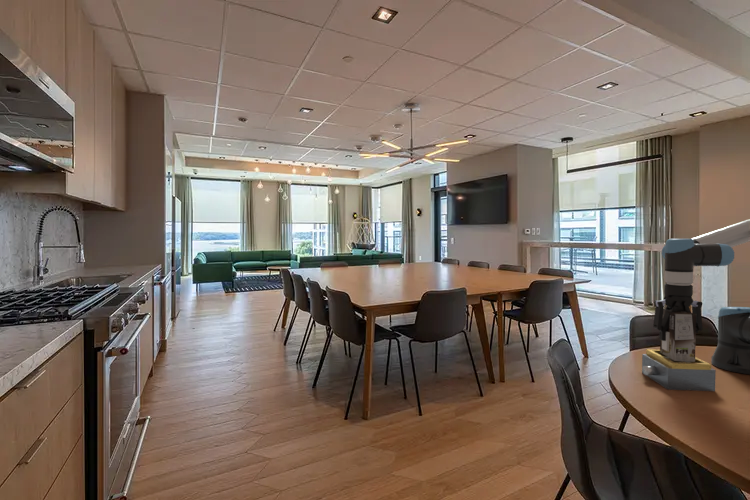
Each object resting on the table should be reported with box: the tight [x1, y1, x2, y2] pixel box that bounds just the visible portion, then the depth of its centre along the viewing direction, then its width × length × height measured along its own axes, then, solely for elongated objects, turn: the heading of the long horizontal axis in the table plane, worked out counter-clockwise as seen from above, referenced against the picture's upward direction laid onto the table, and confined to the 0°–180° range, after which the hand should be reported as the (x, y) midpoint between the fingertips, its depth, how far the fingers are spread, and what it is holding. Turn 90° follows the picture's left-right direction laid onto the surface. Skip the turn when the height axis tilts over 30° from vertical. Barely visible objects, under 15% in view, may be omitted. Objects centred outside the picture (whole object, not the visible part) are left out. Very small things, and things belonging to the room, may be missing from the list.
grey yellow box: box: [641, 348, 717, 392], centre depth 127 cm, size 17×14×9 cm
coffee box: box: [659, 308, 697, 362], centre depth 126 cm, size 9×6×16 cm
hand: (676, 350), depth 126 cm, fingers closed on coffee box, 7 cm apart
